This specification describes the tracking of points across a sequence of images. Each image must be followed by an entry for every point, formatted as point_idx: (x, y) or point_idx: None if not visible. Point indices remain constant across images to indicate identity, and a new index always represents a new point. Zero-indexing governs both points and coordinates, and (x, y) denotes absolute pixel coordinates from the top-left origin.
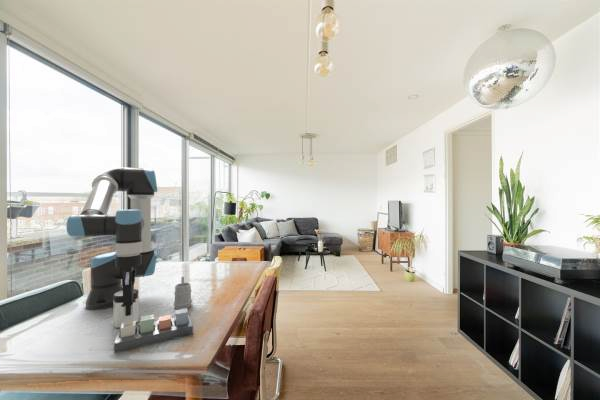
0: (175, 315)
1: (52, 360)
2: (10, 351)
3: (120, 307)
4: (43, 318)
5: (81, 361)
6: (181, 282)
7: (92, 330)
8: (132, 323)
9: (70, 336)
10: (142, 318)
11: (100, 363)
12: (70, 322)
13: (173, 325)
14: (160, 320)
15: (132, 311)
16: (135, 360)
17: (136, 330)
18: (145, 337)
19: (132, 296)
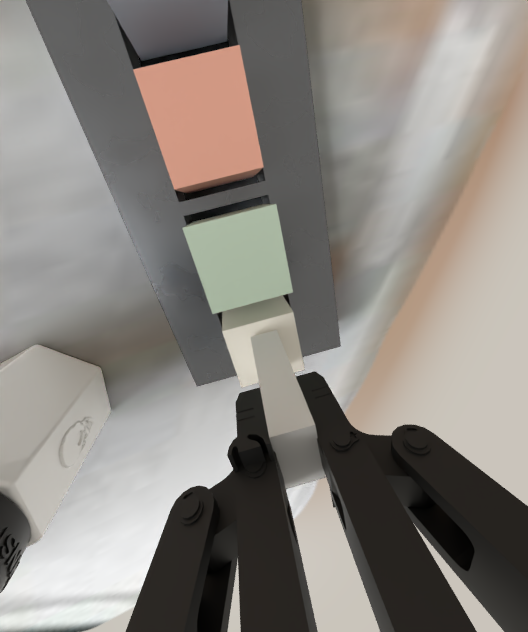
0: (151, 6)
1: None
2: None
3: (51, 485)
4: (24, 612)
5: (338, 396)
6: None
7: (126, 466)
8: (277, 332)
9: (165, 496)
10: (247, 293)
11: (375, 342)
12: (54, 549)
13: None
14: (248, 154)
15: (295, 380)
16: (413, 232)
17: None
18: (325, 230)
19: (385, 534)
